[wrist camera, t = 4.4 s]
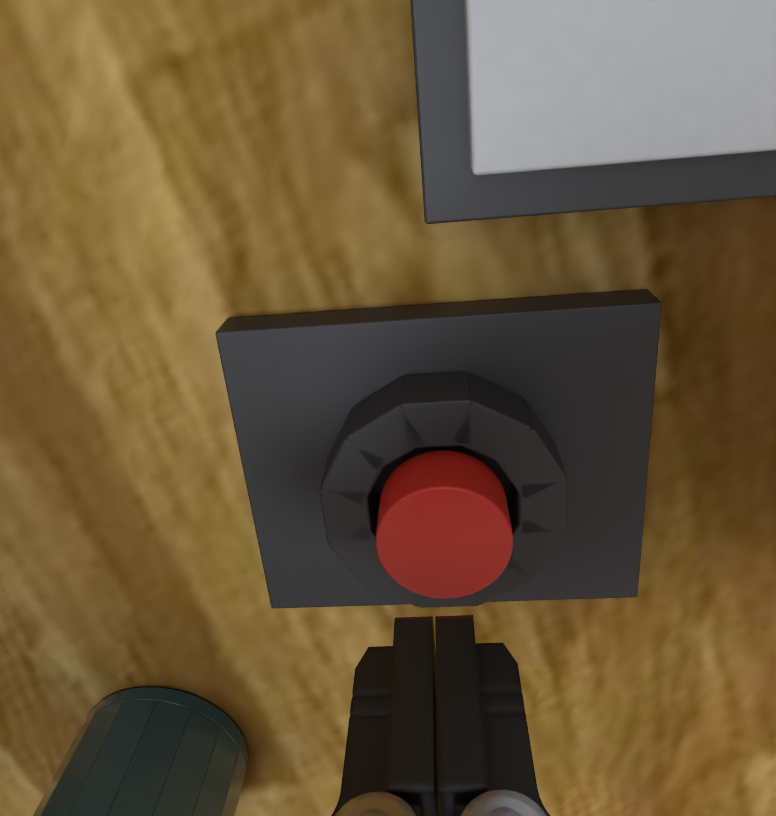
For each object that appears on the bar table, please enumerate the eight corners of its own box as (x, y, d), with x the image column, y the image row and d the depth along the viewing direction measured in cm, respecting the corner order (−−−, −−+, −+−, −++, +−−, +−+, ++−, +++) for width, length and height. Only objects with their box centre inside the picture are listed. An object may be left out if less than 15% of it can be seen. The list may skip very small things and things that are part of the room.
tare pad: (648, 288, 18) (687, 326, 15) (627, 571, 21) (656, 643, 19) (227, 317, 19) (192, 358, 16) (279, 583, 22) (258, 652, 20)
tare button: (505, 445, 17) (512, 483, 15) (507, 552, 18) (514, 598, 17) (374, 452, 17) (368, 490, 16) (386, 557, 18) (381, 601, 17)
